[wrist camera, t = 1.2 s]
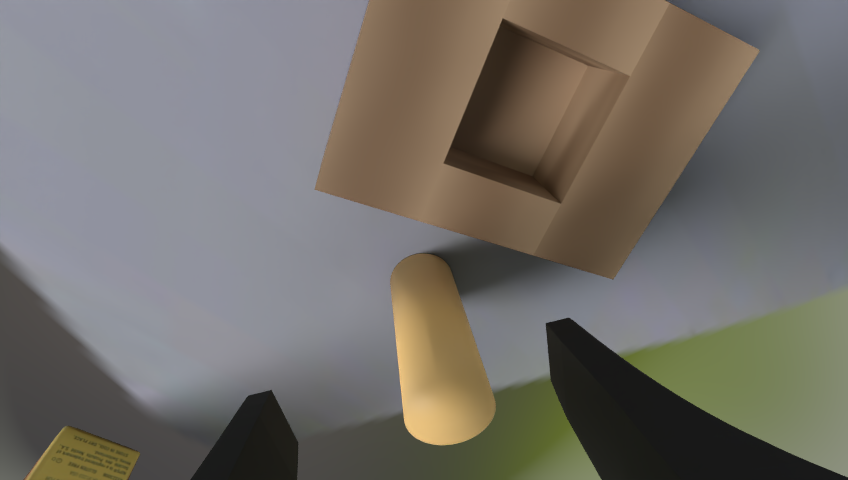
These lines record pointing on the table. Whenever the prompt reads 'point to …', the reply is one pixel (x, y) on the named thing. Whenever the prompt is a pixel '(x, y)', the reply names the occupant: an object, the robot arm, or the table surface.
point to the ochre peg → (437, 355)
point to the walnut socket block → (529, 118)
